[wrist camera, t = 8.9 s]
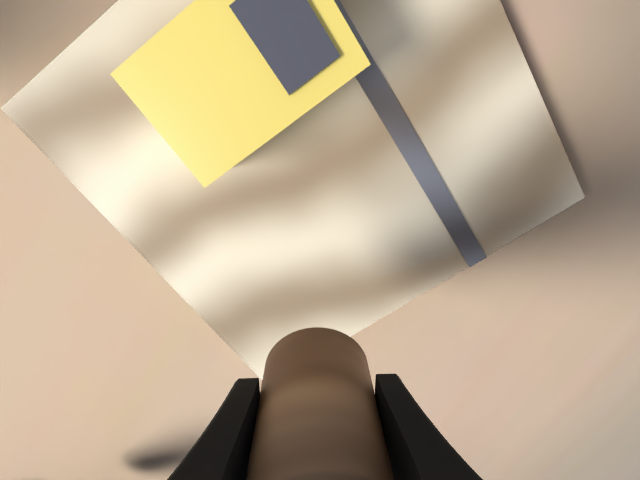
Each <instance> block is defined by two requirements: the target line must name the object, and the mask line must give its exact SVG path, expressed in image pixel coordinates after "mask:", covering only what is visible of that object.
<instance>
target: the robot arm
mask: <svg viewBox="0 0 640 480" xmlns="http://www.w3.org/2000/svg"><path fill="white" fill-rule="evenodd" d="M259 398H260V389H259V378H245V379H238V380H237V381H236V382H235V384H234V385H233V387H232V389H231V391H230V392H229V394H228V396H227V397H226V399H225V401H224V402H223V404H222V405H221V407H220V409H219V410H218V412H217V413H216V415H215V416H214V418H213V419H212V421H211V422H210V424H209V425H208V426H207V428H206V429H205V431H204V432H203V434H202V435H201V437H200V438H199V439H198V441H197V442H196V443H195V445H194V446H193V447H192V449H191V450H190V451H189V453H188V454H187V455H186V457H185V458H184V459H183V461H182V462H181V463H180V464H179V466H178V467H177V468H176V469H175V471H174V472H173V473H172V474H171V476H170V477H169V478H168V479H167V480H246V475H247V469H248V463H249V457H250V451H251V445H252V439H253V433H254V427H255V422H256V416H257V410H258V404H259ZM375 398H376V403H377V407H378V411H379V416H380V420H381V424H382V429H383V433H384V438H385V442H386V446H387V451H388V455H389V459H390V464H391V468H392V472H393V477H394V480H483V479H482V478H481V477H480V476H479V475H478V474H477V473H476V472H475V471H474V470H473V469H472V468H471V467H470V466H469V465H468V464H467V463H466V462H465V461H464V460H463V459H462V457H461V456H460V455H459V454H458V453H457V452H456V451H455V450H454V448H453V447H452V446H451V445H450V444H449V443H448V442H447V440H446V439H445V438H444V437H443V436H442V434H441V433H440V432H439V431H438V429H437V428H436V427H435V426H434V425H433V423H432V422H431V421H430V420H429V418H428V417H427V416H426V414H425V413H424V412H423V411H422V409H421V408H420V407H419V405H418V404H417V402H416V401H415V400H414V398H413V397H412V396H411V394H410V393H409V391H408V390H407V388H406V387H405V386H404V384H403V383H402V381H401V380H400V378H399V377H398V376H397V375H396V374H376V383H375Z"/></svg>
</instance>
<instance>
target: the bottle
mask: <svg viewBox="0 0 640 480" xmlns="http://www.w3.org/2000/svg"><path fill="white" fill-rule="evenodd" d="M246 480H394V477H393V472H392V468H391V464H390V459H389V455H388V451H387V446H386V442H385V438H384V433H383V429H382V424H381V420H380V416H379V411H378V407H377V403H376V398H375V394H374V389H373V385H372V381H371V376H370V372H369V368H368V363H367V359H366V356H365V354H364V352H363V350H362V348H361V347H360V346H359V344H358V343H357V342H356V341H355V340H353V339H352V338H351V337H349V336H348V335H346V334H344V333H342V332H340V331H337V330H334V329H330V328H322V327H312V328H305V329H301V330H298V331H295V332H292V333H290V334H288V335H286V336H285V337H283V338H282V339H281V340H279V341H278V342H277V343H276V344H275V345H274V346H273V348H272V349H271V351H270V352H269V354H268V356H267V359H266V363H265V368H264V374H263V380H262V386H261V392H260V398H259V404H258V410H257V416H256V422H255V427H254V433H253V439H252V445H251V451H250V457H249V463H248V469H247V475H246Z"/></svg>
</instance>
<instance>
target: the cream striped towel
mask: <svg viewBox="0 0 640 480" xmlns="http://www.w3.org/2000/svg"><path fill="white" fill-rule="evenodd" d="M193 1H194V0H118V1H117V2H116V3H115V4H114V5H113V6H111V7H110V8H109V9H108V10H107V11H106V12H105V13H104V14H103V15H102V16H101V17H99V18H98V19H97V20H96V21H95V22H94V23H93V24H92V25H91V26H90V27H89V28H87V29H86V30H85V31H84V32H83V33H82V34H81V35H80V36H79V37H78V38H77V39H75V40H74V41H73V42H72V43H71V44H70V45H69V46H68V47H67V48H66V49H65V50H63V51H62V52H61V53H60V54H59V55H58V56H57V57H56V58H55V59H54V60H53V61H51V62H50V63H49V64H48V65H47V66H46V67H45V68H44V69H43V70H42V71H41V72H40V73H38V74H37V75H36V76H35V77H34V78H33V79H32V80H31V81H30V82H29V83H28V84H26V85H25V86H24V87H23V88H22V89H21V90H20V91H19V92H18V93H17V94H16V95H14V96H13V97H12V98H11V99H10V100H9V101H8V102H7V103H6V104H5V105H4V106H2V107H1V108H0V109H1V110H2V111H3V112H4V113H5V114H6V115H7V116H8V117H9V118H10V119H11V120H12V121H13V122H14V123H15V124H16V125H17V126H18V127H19V128H20V129H21V130H22V131H23V132H24V133H25V134H26V136H27V137H28V138H29V139H30V140H31V141H32V142H33V143H34V144H35V145H36V146H37V147H38V148H39V149H40V150H41V151H42V152H43V153H44V154H45V155H46V156H47V157H48V158H49V159H50V160H51V162H52V163H53V164H54V165H55V166H56V167H57V168H58V169H59V170H60V171H61V172H62V173H63V174H64V175H65V176H66V177H67V178H68V179H69V180H70V181H71V182H72V183H73V184H74V185H75V186H76V187H77V189H78V190H79V191H80V192H81V193H82V194H83V195H84V196H85V197H86V198H87V199H88V200H89V201H90V202H91V203H92V204H93V205H94V206H95V207H96V208H97V209H98V210H99V211H100V212H101V213H102V215H103V216H104V217H105V218H106V219H107V220H108V221H109V222H110V223H111V224H112V225H113V226H114V227H115V228H116V229H117V230H118V231H119V232H120V233H121V234H122V235H123V236H124V237H125V238H126V239H127V240H128V242H129V243H130V244H131V245H132V246H133V247H134V248H135V249H136V250H137V251H138V252H139V253H140V254H141V255H142V256H143V257H144V258H145V259H146V260H147V261H148V262H149V263H150V264H151V265H152V266H153V268H154V269H155V270H156V271H157V272H158V273H159V274H160V275H161V276H162V277H163V278H164V279H165V280H166V281H167V282H168V283H169V284H170V285H171V286H172V287H173V288H174V289H175V290H176V291H177V292H178V294H179V295H180V296H181V297H182V298H183V299H184V300H185V301H186V302H187V303H188V304H189V305H190V306H191V307H192V308H193V309H194V310H195V311H196V312H197V313H198V314H199V315H200V316H201V317H202V318H203V319H204V321H205V322H206V323H207V324H208V325H209V326H210V327H211V328H212V329H213V330H214V331H215V332H216V333H217V334H218V335H219V336H220V337H221V338H222V339H223V340H224V341H225V342H226V343H227V344H228V345H229V347H230V348H231V349H232V350H233V351H234V352H235V353H236V354H237V355H238V356H239V357H240V358H241V359H242V360H243V361H244V362H245V363H246V364H247V365H248V366H249V367H250V368H251V369H252V370H253V371H254V372H255V374H256V375H257V376H258V377H259V378H260V379H261V380H263V374H264V368H265V363H266V359H267V356H268V354H269V352H270V351H271V349H272V348H273V346H274V345H275V344H276V343H277V342H278V341H279V340H281V339H282V338H283V337H285V336H286V335H288V334H290V333H292V332H295V331H298V330H301V329H305V328H312V327H322V328H330V329H334V330H337V331H340V332H342V333H344V334H346V335H348V336H349V337H351V336H352V335H354V334H356V333H357V332H359V331H361V330H363V329H364V328H366V327H368V326H369V325H371V324H373V323H374V322H376V321H378V320H379V319H381V318H383V317H384V316H386V315H388V314H390V313H391V312H393V311H395V310H396V309H398V308H400V307H401V306H403V305H405V304H406V303H408V302H410V301H411V300H413V299H415V298H417V297H418V296H420V295H422V294H423V293H425V292H427V291H428V290H430V289H432V288H433V287H435V286H437V285H438V284H440V283H442V282H444V281H445V280H447V279H449V278H450V277H452V276H454V275H455V274H457V273H459V272H460V271H462V270H464V269H465V268H467V267H471V266H473V265H474V264H476V263H478V262H479V261H481V260H483V259H485V258H486V256H487V255H489V254H491V253H493V252H494V251H496V250H498V249H499V248H501V247H503V246H504V245H506V244H508V243H509V242H511V241H513V240H514V239H516V238H518V237H520V236H521V235H523V234H525V233H526V232H528V231H530V230H531V229H533V228H535V227H536V226H538V225H540V224H541V223H543V222H545V221H547V220H548V219H550V218H552V217H553V216H555V215H557V214H558V213H560V212H562V211H563V210H565V209H567V208H568V207H570V206H572V205H574V204H575V203H577V202H579V201H580V200H582V199H584V198H585V196H584V193H583V191H582V189H581V187H580V184H579V182H578V180H577V177H576V175H575V173H574V170H573V168H572V166H571V163H570V161H569V159H568V156H567V154H566V152H565V150H564V147H563V145H562V143H561V140H560V138H559V136H558V133H557V131H556V129H555V126H554V124H553V122H552V119H551V117H550V115H549V112H548V110H547V108H546V106H545V103H544V101H543V99H542V96H541V94H540V92H539V89H538V87H537V85H536V82H535V80H534V78H533V75H532V73H531V71H530V68H529V66H528V64H527V62H526V59H525V57H524V55H523V52H522V50H521V48H520V45H519V43H518V41H517V38H516V36H515V34H514V31H513V29H512V27H511V25H510V22H509V20H508V18H507V15H506V13H505V11H504V8H503V6H502V4H501V1H500V0H334V1H335V3H336V5H337V7H338V8H339V10H340V12H341V14H342V15H343V17H344V19H345V20H346V22H347V24H348V26H349V27H350V29H351V31H352V33H353V34H354V36H355V38H356V40H357V41H358V43H359V45H360V46H361V48H362V50H363V52H364V53H365V55H366V57H367V59H368V60H369V62H370V64H371V65H369V66H368V67H367V68H365V69H364V70H363V71H361V72H360V73H359V74H357V75H356V76H355V77H353V78H352V79H351V80H349V81H348V82H346V83H345V84H344V85H342V86H341V87H340V88H338V89H337V90H336V91H334V92H333V93H332V94H330V95H329V96H328V97H326V98H325V99H324V100H322V101H321V102H320V103H318V104H317V105H316V106H314V107H313V108H312V109H310V110H309V111H308V112H306V113H305V114H303V115H302V116H301V117H299V118H298V119H297V120H295V121H294V122H293V123H291V124H290V125H289V126H287V127H286V128H285V129H283V130H282V131H281V132H279V133H278V134H277V135H275V136H274V137H273V138H271V139H270V140H269V141H267V142H266V143H265V144H263V145H262V146H261V147H259V148H258V149H256V150H255V151H254V152H252V153H251V154H250V155H248V156H247V157H246V158H244V159H243V160H242V161H240V162H239V163H238V164H236V165H235V166H234V167H232V168H231V169H230V170H228V171H227V172H226V173H224V174H223V175H222V176H220V177H219V178H218V179H216V180H215V181H213V182H212V183H211V184H209V185H208V186H207V187H205V188H204V187H203V186H202V184H201V183H200V182H199V181H198V180H197V178H196V177H195V176H194V175H193V174H192V172H191V171H190V170H189V169H188V168H187V166H186V165H185V164H184V163H183V161H182V160H181V159H180V158H179V157H178V155H177V154H176V153H175V152H174V151H173V149H172V148H171V147H170V146H169V145H168V143H167V142H166V141H165V140H164V139H163V137H162V136H161V135H160V134H159V132H158V131H157V130H156V129H155V128H154V126H153V125H152V124H151V123H150V122H149V120H148V119H147V118H146V117H145V116H144V114H143V113H142V112H141V111H140V110H139V108H138V107H137V106H136V105H135V104H134V102H133V101H132V100H131V99H130V97H129V96H128V95H127V94H126V93H125V91H124V90H123V89H122V88H121V87H120V85H119V84H118V83H117V82H116V81H115V79H114V78H113V77H112V76H111V75H110V73H112V72H113V71H114V70H115V69H116V68H117V67H118V66H120V65H121V64H122V63H123V62H124V61H125V60H126V59H128V58H129V57H130V56H131V55H132V54H133V53H135V52H136V51H137V50H138V49H139V48H140V47H141V46H143V45H144V44H145V43H146V42H147V41H148V40H149V39H151V38H152V37H153V36H154V35H155V34H156V33H157V32H159V31H160V30H161V29H162V28H163V27H164V26H165V25H167V24H168V23H169V22H170V21H171V20H172V19H174V18H175V17H176V16H177V15H178V14H179V13H180V12H182V11H183V10H184V9H185V8H186V7H187V6H188V5H190V4H191V3H192V2H193Z"/></svg>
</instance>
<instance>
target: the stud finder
mask: <svg viewBox="0 0 640 480" xmlns="http://www.w3.org/2000/svg"><path fill="white" fill-rule="evenodd" d="M369 65H371V64H370V62H369V60H368V59H367V57H366V55H365V53H364V52H363V50H362V48H361V46H360V45H359V43H358V41H357V40H356V38H355V36H354V34H353V33H352V31H351V29H350V27H349V26H348V24H347V22H346V20H345V19H344V17H343V15H342V14H341V12H340V10H339V8H338V7H337V5H336V3H335V1H334V0H194V1H193V2H192V3H191V4H190V5H188V6H187V7H186V8H185V9H184V10H183V11H182V12H180V13H179V14H178V15H177V16H176V17H175V18H174V19H172V20H171V21H170V22H169V23H168V24H167V25H165V26H164V27H163V28H162V29H161V30H160V31H159V32H157V33H156V34H155V35H154V36H153V37H152V38H151V39H149V40H148V41H147V42H146V43H145V44H144V45H143V46H141V47H140V48H139V49H138V50H137V51H136V52H135V53H133V54H132V55H131V56H130V57H129V58H128V59H126V60H125V61H124V62H123V63H122V64H121V65H120V66H118V67H117V68H116V69H115V70H114V71H113V72H112V73H110V75H111V76H112V77H113V78H114V79H115V81H116V82H117V83H118V84H119V85H120V87H121V88H122V89H123V90H124V91H125V93H126V94H127V95H128V96H129V97H130V99H131V100H132V101H133V102H134V104H135V105H136V106H137V107H138V108H139V110H140V111H141V112H142V113H143V114H144V116H145V117H146V118H147V119H148V120H149V122H150V123H151V124H152V125H153V126H154V128H155V129H156V130H157V131H158V132H159V134H160V135H161V136H162V137H163V139H164V140H165V141H166V142H167V143H168V145H169V146H170V147H171V148H172V149H173V151H174V152H175V153H176V154H177V155H178V157H179V158H180V159H181V160H182V161H183V163H184V164H185V165H186V166H187V168H188V169H189V170H190V171H191V172H192V174H193V175H194V176H195V177H196V178H197V180H198V181H199V182H200V183H201V184H202V186H203V187H204V188H205V187H207V186H208V185H209V184H211V183H212V182H213V181H215V180H216V179H218V178H219V177H220V176H222V175H223V174H224V173H226V172H227V171H228V170H230V169H231V168H232V167H234V166H235V165H236V164H238V163H239V162H240V161H242V160H243V159H244V158H246V157H247V156H248V155H250V154H251V153H252V152H254V151H255V150H256V149H258V148H259V147H261V146H262V145H263V144H265V143H266V142H267V141H269V140H270V139H271V138H273V137H274V136H275V135H277V134H278V133H279V132H281V131H282V130H283V129H285V128H286V127H287V126H289V125H290V124H291V123H293V122H294V121H295V120H297V119H298V118H299V117H301V116H302V115H303V114H305V113H306V112H308V111H309V110H310V109H312V108H313V107H314V106H316V105H317V104H318V103H320V102H321V101H322V100H324V99H325V98H326V97H328V96H329V95H330V94H332V93H333V92H334V91H336V90H337V89H338V88H340V87H341V86H342V85H344V84H345V83H346V82H348V81H349V80H351V79H352V78H353V77H355V76H356V75H357V74H359V73H360V72H361V71H363V70H364V69H365V68H367V67H368V66H369Z"/></svg>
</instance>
